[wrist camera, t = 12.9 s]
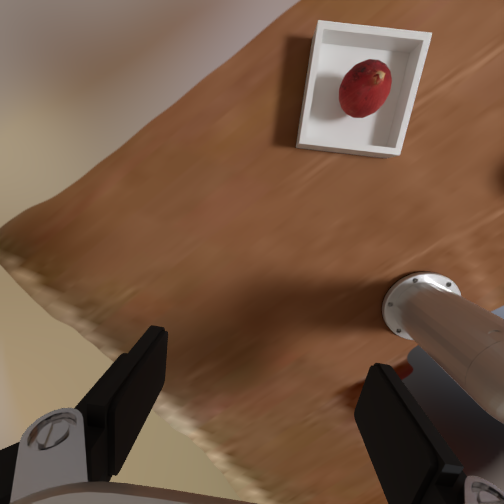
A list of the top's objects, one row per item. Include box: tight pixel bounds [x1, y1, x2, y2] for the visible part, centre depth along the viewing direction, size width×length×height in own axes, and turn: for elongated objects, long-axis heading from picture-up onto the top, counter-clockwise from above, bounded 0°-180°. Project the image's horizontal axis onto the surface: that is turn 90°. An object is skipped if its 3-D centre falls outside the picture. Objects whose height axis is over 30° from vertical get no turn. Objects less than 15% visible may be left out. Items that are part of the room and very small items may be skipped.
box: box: [296, 20, 432, 158], centre depth 31 cm, size 14×14×4 cm
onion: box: [339, 59, 392, 118], centre depth 28 cm, size 6×6×8 cm
